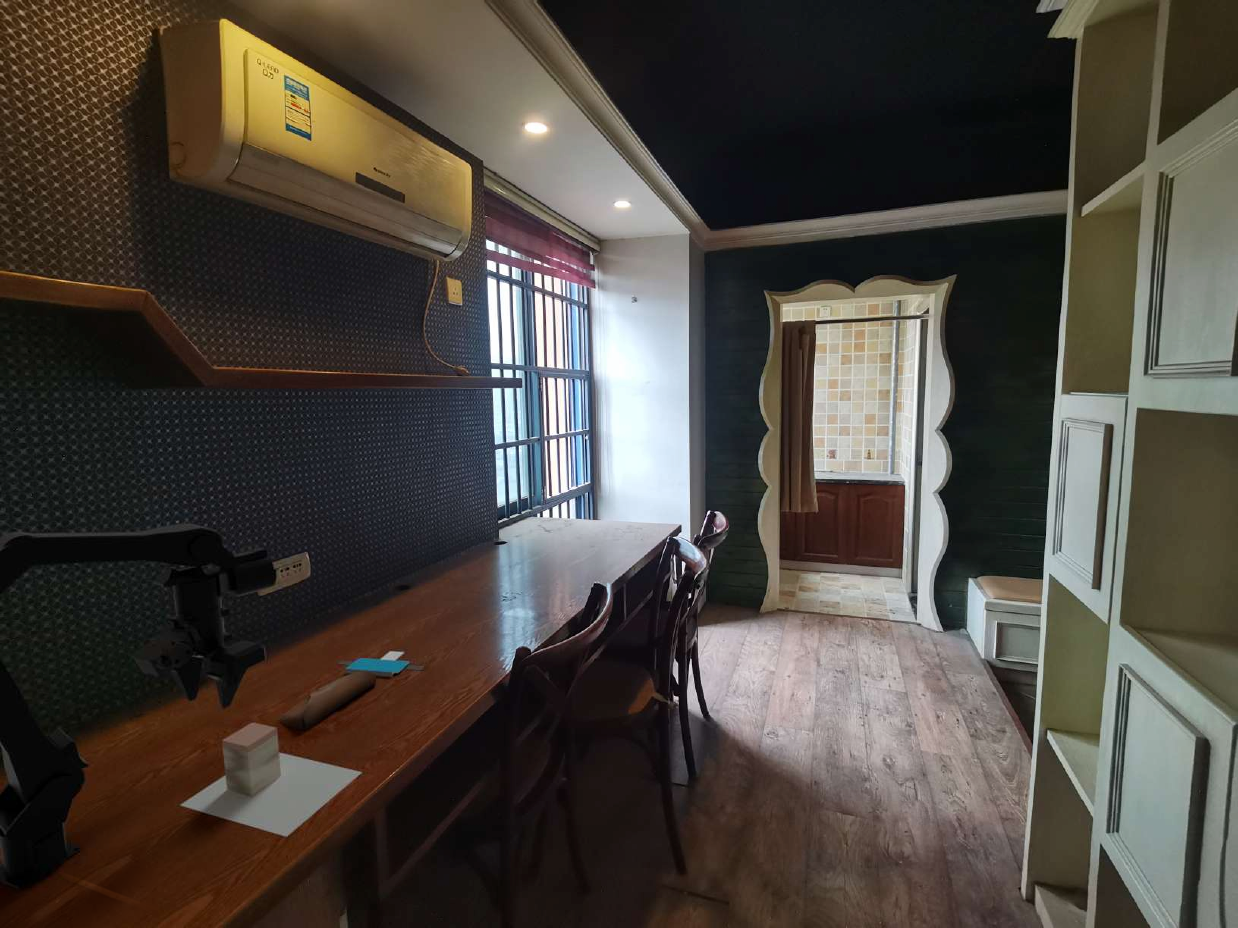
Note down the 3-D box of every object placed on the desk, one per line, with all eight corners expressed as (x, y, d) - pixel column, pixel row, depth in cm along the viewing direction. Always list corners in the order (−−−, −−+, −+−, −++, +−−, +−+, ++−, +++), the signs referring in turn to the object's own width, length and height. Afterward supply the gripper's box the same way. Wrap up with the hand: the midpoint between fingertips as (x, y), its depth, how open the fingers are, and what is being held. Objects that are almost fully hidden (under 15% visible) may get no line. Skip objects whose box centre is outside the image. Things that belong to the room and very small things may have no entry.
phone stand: (437, 657, 134) (437, 650, 133) (411, 682, 122) (411, 675, 122) (357, 652, 137) (357, 645, 136) (324, 676, 125) (324, 669, 125)
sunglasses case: (344, 678, 123) (355, 654, 121) (368, 699, 121) (380, 675, 119) (269, 725, 106) (281, 698, 104) (297, 750, 104) (309, 723, 102)
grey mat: (180, 807, 85) (179, 805, 85) (265, 751, 98) (265, 748, 98) (286, 839, 79) (286, 836, 79) (362, 774, 92) (362, 772, 92)
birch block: (227, 789, 88) (222, 740, 87) (256, 769, 93) (252, 722, 92) (252, 796, 86) (247, 746, 85) (281, 775, 91) (276, 727, 90)
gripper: (96, 619, 84) (109, 721, 86) (189, 635, 78) (201, 744, 80) (176, 593, 94) (186, 684, 96) (263, 606, 88) (272, 703, 90)
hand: (209, 703), depth 90 cm, fingers open, 7 cm apart
